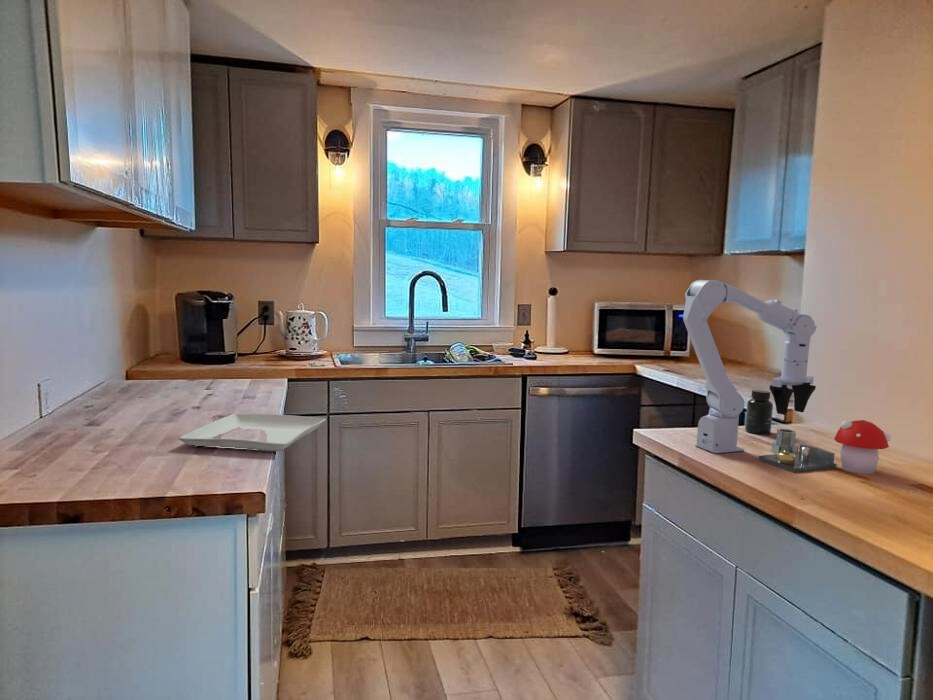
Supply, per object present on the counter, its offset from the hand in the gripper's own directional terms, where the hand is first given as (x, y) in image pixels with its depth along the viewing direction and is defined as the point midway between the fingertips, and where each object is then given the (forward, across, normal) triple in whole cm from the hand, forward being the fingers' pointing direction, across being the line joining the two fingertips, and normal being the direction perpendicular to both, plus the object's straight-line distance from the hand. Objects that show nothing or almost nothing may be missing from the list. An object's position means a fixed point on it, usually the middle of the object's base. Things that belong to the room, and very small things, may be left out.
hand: (790, 412), depth 162 cm
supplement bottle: (+10, +11, +16) cm, 22 cm away
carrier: (+10, -10, -9) cm, 16 cm away
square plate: (+11, -119, +68) cm, 137 cm away
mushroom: (+10, -1, -19) cm, 21 cm away
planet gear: (+10, -2, -1) cm, 10 cm away
